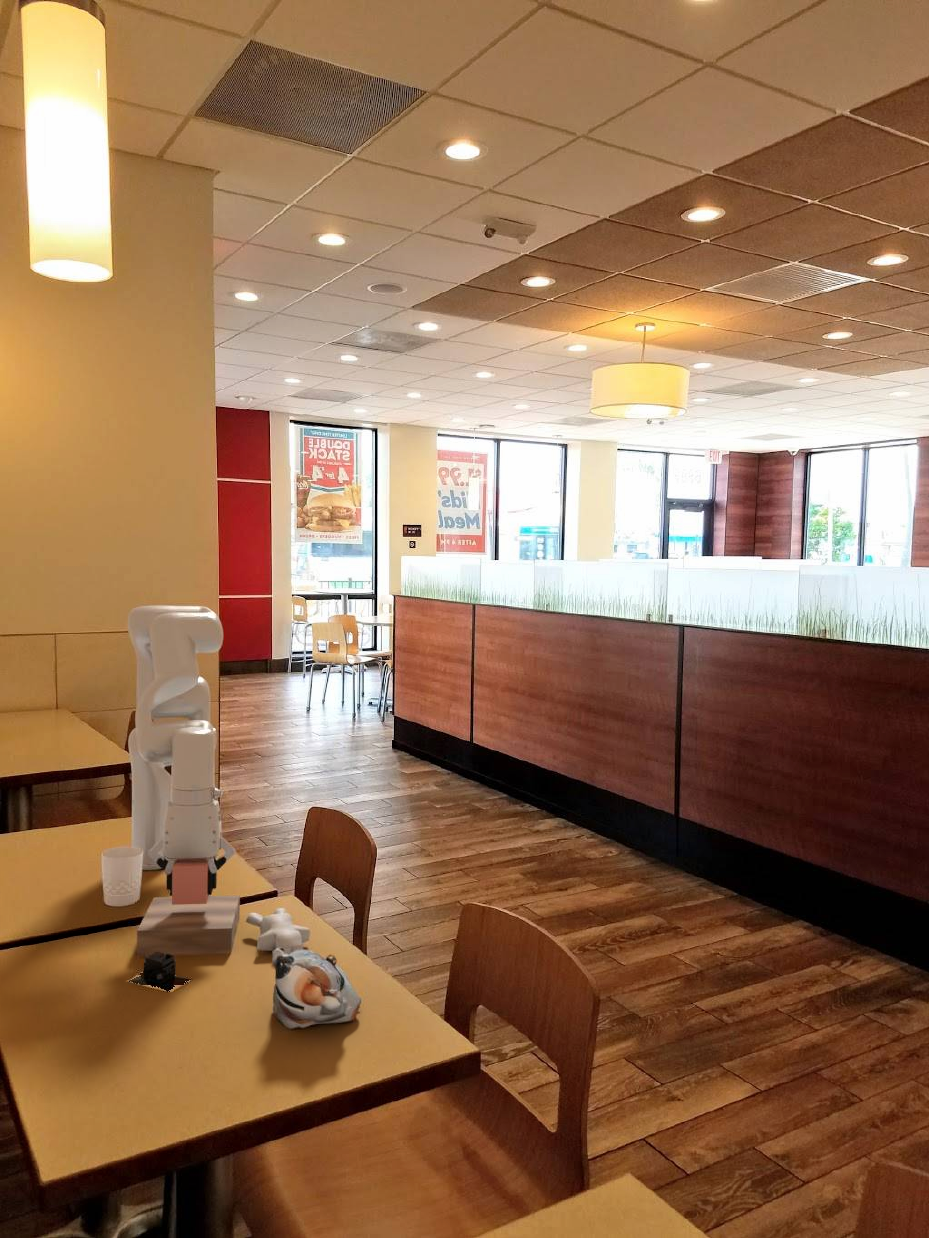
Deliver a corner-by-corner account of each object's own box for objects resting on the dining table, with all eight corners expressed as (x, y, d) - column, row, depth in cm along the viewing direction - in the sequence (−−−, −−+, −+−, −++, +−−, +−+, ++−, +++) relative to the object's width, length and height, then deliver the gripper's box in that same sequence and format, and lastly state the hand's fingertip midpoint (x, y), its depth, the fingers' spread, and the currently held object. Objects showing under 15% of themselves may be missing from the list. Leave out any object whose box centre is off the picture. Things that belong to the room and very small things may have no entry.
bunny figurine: (266, 944, 158) (241, 904, 171) (265, 971, 159) (239, 930, 172) (318, 934, 163) (290, 896, 176) (317, 960, 164) (288, 921, 177)
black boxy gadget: (203, 982, 153) (204, 955, 153) (173, 1001, 146) (174, 973, 146) (144, 967, 158) (145, 941, 158) (113, 985, 151) (113, 957, 151)
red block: (177, 892, 172) (177, 855, 171) (210, 891, 173) (210, 855, 172) (172, 904, 166) (172, 866, 165) (206, 903, 167) (206, 865, 166)
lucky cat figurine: (378, 1012, 144) (373, 954, 136) (320, 1068, 136) (312, 1010, 128) (312, 959, 152) (304, 902, 144) (254, 1010, 144) (243, 952, 136)
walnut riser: (153, 922, 177) (153, 897, 176) (239, 920, 179) (239, 895, 179) (136, 958, 161) (137, 930, 161) (231, 955, 163) (231, 928, 163)
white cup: (149, 895, 190) (149, 847, 189) (131, 909, 182) (132, 859, 181) (112, 892, 190) (113, 845, 190) (93, 906, 183) (93, 857, 182)
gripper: (243, 790, 173) (241, 884, 174) (147, 791, 171) (146, 886, 172) (239, 800, 166) (238, 899, 167) (139, 801, 163) (138, 901, 164)
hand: (191, 891), depth 169 cm, fingers closed on red block, 6 cm apart
